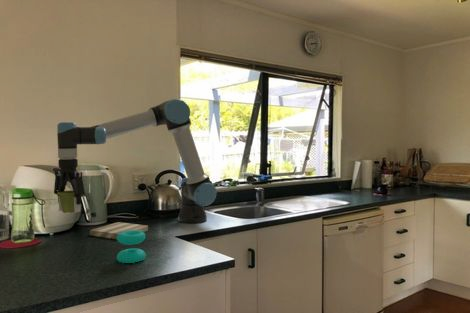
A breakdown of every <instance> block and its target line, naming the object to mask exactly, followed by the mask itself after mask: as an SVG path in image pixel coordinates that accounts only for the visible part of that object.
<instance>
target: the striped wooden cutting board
mask: <svg viewBox="0 0 470 313" xmlns="http://www.w3.org/2000/svg"><path fill="white" fill-rule="evenodd" d="M130 230H138V231H142V232H144V233H146V231H147V232H148V231H149V225H145V224H139V223H138V224H136V223H129V222H121V221H119V222H118V221H117V222H114V223H110V224H107V225H104V226H99V227H97V228H93V229H90V232H89V234H90V236H94V237H99V238H105V239H111V238H112V240H117V235H118V234H119V233H121V232H124V231H130Z"/></svg>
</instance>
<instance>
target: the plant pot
mask: <svg viewBox="0 0 470 313" xmlns="http://www.w3.org/2000/svg"><path fill="white" fill-rule="evenodd" d="M57 194H58V195H59V197H60V202H61V207H62V211H61V212H62V213H65V214H66V213H71V214H72V213H75V212H74V196H75V193H74V191H73V189H70V190H65V191H64V192H58V193H57ZM57 194H56V195H57Z"/></svg>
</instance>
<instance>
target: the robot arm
mask: <svg viewBox="0 0 470 313" xmlns="http://www.w3.org/2000/svg"><path fill="white" fill-rule="evenodd" d="M190 116H191V108H190V106H189V104H188V103H187V102H186V101H185V100H183V99H180V98H179V99H178V98H172V99H169V100H166V101H164V102H162V103H160V104H158V105H157V104H156V105H155V106H153V107H149V108H148V109H147V110H146V111H145V110H144V111H143V112H139V113H135V114H132V115H128V116H125V117H121V118H118V119H114V120H111V121H108V122H104V123H100V124H96V125H93V126H90V127H89V126H87V127H83V126H81V127H80V126H78V125H77V123H76V122H69V121H68V122H67V121H66V122H64V121H63V122H59V123H58V124H57V126H56V129H57V131H56V132H57V158H58V160H57V161H58V168H59V169H60V170H58V171H57V170H56V171H54V176H55V178H54V189H53V194H54V195H56V196H57V203H58V211H59V212H62V207H61V202H60V197H59V195H58V194H57V193H58V192H64V191H66V186H67V184H68V183H69V184H70V185H71V188H72V190H73V191H74V193H75V196H74V212H73V213H79V212H80V213H81V204H82V196H85V194H86V192H85V187H84V186H85V185H84V180H83V171H80V172H79V171H77V168H78V166H79V165H78V164H79V163H78V145H104V144H106V141H107V140H108V139H111V138H115V137H118V136H121V135H126V134H129V133H132V132H135V131H139V130H141V129H145V128H148V127H151V126H153V127H159V126H164V125H166V128H167V131H168V132H170V133H171V134H172V136H173V138H174V142H175V144H176V148H177V150H178V153H179V156H180V158H181V159H180V160H181V162H182V165H183V168H184V171H185V174H186V177H184V178H182V179H181V184H180V190H181V192H180V193H181V206H180V210H179V213H178V216H177V217H178V218H177V222H179V223H183V224H200V223H205V222H206V221H207V218H208V216H207V212H206V211H205V207H206V206H210V205H212V203H214V201H215V200H216V197H217V189H216V186H215V185H214V184H213V183H212V182H211V179H210V177H209V175H208V174H206V173H205V171H204V168H203V165H202V162H201V159H200V155H199V153H198V150H197V146H196V143H195V140H194V136H193V134H192V131H191V128H190V127H191V125H192V122H191V118H190Z"/></svg>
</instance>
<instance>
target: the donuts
mask: <svg viewBox="0 0 470 313" xmlns="http://www.w3.org/2000/svg"><path fill="white" fill-rule="evenodd" d="M145 239H146V232H142V231H138V230H130V231H124V232H121V233H119V234H118V235H117V239H116V241H117V242H118V243H120V244H122V245H127V246H129V245H130V246H131V245H133V246H134V245H137V244H141V243H142V242H144V241H145ZM146 256H147V255H146V252H145V251H144V250H143V249H142V248H141V249H140V248H126V249H123V250H121V251H119V252H118V253H117V255H116V260H117V262H119V263H121V262H122V263H121V264H124V263H133V264H136V263H135V262H138V263H140V262H139V261H141V262H143V261H144V260H145V259H146ZM142 260H143V261H142Z"/></svg>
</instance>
